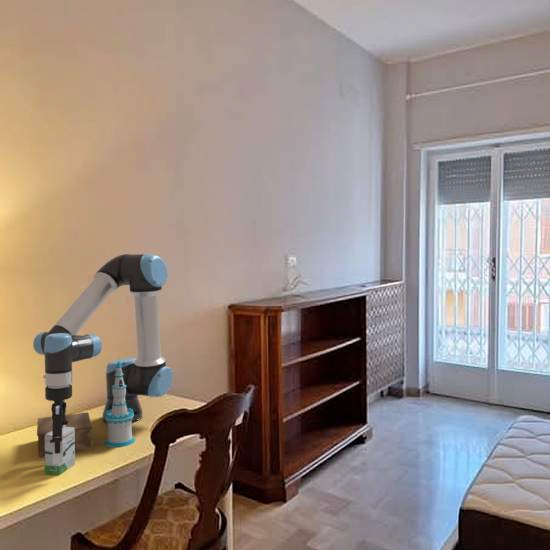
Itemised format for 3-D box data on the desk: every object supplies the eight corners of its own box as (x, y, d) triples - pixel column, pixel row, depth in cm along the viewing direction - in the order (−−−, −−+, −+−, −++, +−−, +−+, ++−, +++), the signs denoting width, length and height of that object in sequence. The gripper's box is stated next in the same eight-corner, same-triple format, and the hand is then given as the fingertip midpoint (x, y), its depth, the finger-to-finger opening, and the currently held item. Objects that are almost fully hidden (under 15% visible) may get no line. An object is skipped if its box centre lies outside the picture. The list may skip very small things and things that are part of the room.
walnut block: (88, 433, 187) (88, 412, 186) (92, 450, 172) (91, 427, 171) (38, 440, 180) (37, 418, 180) (37, 458, 165) (36, 434, 164)
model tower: (98, 444, 176) (97, 358, 174) (116, 434, 185) (115, 352, 184) (123, 448, 172) (121, 360, 171) (140, 438, 182) (139, 354, 180)
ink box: (59, 475, 152) (58, 436, 152) (44, 474, 153) (43, 435, 153) (76, 463, 161) (75, 426, 160) (61, 462, 162) (61, 425, 161)
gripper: (48, 376, 166) (49, 441, 167) (40, 397, 142) (41, 472, 143) (73, 374, 168) (74, 438, 169) (69, 395, 145) (70, 469, 146)
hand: (59, 454), depth 156 cm, fingers open, 13 cm apart
